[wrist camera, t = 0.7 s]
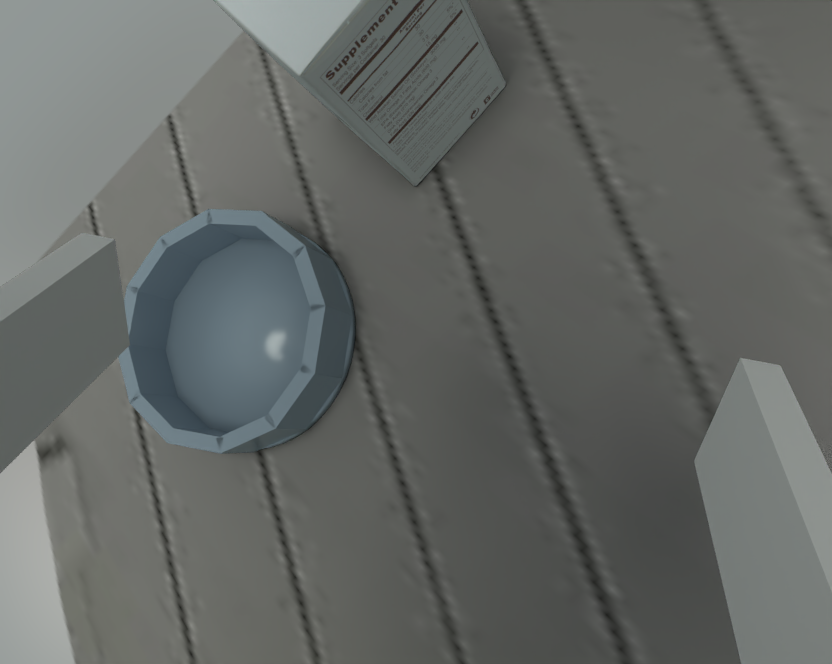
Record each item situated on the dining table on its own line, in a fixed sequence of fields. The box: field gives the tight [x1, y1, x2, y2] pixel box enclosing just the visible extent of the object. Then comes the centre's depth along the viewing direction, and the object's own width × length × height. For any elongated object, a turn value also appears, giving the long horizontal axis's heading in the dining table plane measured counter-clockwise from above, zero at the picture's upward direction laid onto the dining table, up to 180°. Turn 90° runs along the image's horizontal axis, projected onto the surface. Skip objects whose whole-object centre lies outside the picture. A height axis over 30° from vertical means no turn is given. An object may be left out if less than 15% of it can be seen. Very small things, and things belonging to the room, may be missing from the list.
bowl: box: [118, 209, 355, 454], centre depth 37 cm, size 13×13×4 cm
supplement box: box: [214, 0, 506, 186], centre depth 31 cm, size 7×7×13 cm
